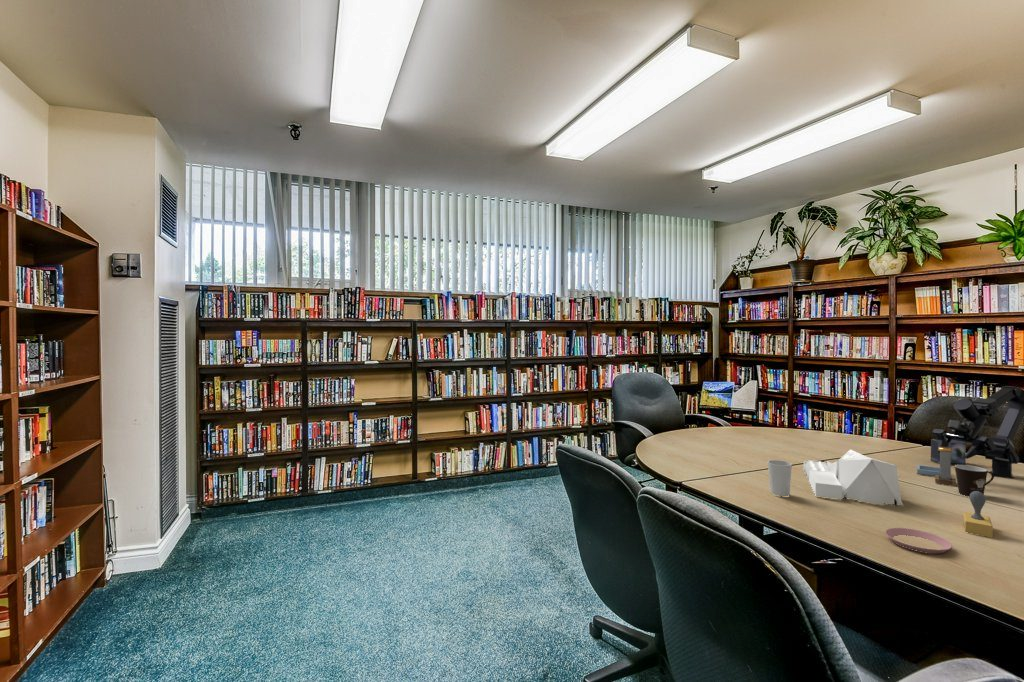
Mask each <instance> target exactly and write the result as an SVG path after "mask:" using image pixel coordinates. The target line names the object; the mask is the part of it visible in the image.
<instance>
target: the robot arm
mask: <svg viewBox="0 0 1024 682" xmlns="http://www.w3.org/2000/svg"><path fill="white" fill-rule="evenodd" d="M1006 403H1007V404H1008V410H1007V412H1006V414H1005V416H1004V419H1003V421H1002V423H1001V424H1000V426H999V429H998V431H997V433H996V435H995V436H985V435H984V436H983V435H981V434H982V433H981V432H980V431H981V430H982V428H983V427H984V426H986V427H987V426H989V423H988V421H987V419H986V417H991V418H993V417H995V415H997V414H998V412H999V408H1000V407H1001V406H1003V405H1005V404H1006ZM953 408H954V410H955V411H956V412H957V414H958V415H959V416H960V418H962V419H963V420H962V421H961V420H954V419H949V420H948V422H947V426H946V427H947V429H948V428H949V429H951V432H952V433H953V434H952V433H949V432H948V431H947V429H939V428H933V430H932V431H931V434H932V435H933V437H934V439H937V440H938V447H947V446H948V445H949V442H951V440H957V441H961V442H964V443H966V444H971V446H970V448H969V449H968V450H967V452H966V456H965V458H966V460H968V459H970V458H972V457H975V456H977V455H980V454H984V458H985V459H986V460H991V470H989V472H992V473H993V475H994V477H999V478H1001V477H1002V478H1007V477H1010V478H1009V479H1015V476H1014V474H1013V465H1015V464H1016V465H1018V464H1019V461H1020V456H1018V454H1017V452H1016V448H1015V445H1014V443H1013V441H1014V439H1015V437H1016V434H1017V432H1018V430H1019V428H1020V426H1021V423H1022V421H1023V420H1024V389H1022V388H1021V387H1018V386H1010V385H1004V386H1001V388H999V389H998V390H997V391H996V392H994V393H992V394H990V395H989V396H988V397H986V398H980V399H975V400H972V398H970V397H964V398H962V399H960V400H957V401H955V402H954V403H953ZM938 453H940V451H939V450H938ZM1012 464H1013V465H1012Z"/></svg>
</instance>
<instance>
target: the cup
mask: <svg viewBox="0 0 1024 682" xmlns="http://www.w3.org/2000/svg"><path fill="white" fill-rule="evenodd" d="M792 469H793V463H792V462H790V461H786V460H779V459H769V460H768V461H767V470H768V477H769V488H770V491H769V493H770V492H771V493H772V494H775V495H779V496H788V495H790V496H791V493H790V492H791V483H792V481H791V479H792Z"/></svg>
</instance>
